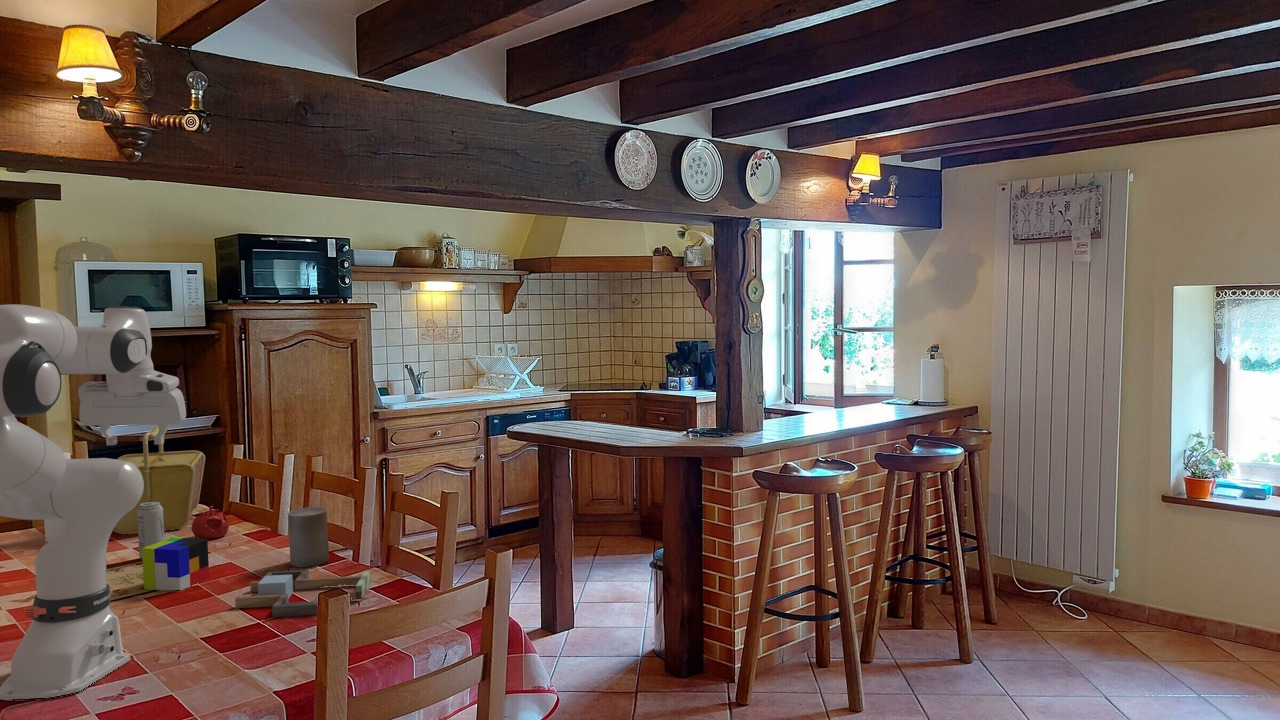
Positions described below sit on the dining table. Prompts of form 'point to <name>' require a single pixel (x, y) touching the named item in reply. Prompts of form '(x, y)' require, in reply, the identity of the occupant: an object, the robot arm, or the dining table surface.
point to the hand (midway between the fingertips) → (135, 444)
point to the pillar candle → (308, 536)
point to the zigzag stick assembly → (299, 582)
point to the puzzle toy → (175, 563)
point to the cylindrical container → (55, 523)
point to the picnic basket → (166, 484)
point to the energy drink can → (150, 524)
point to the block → (276, 585)
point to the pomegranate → (210, 525)
